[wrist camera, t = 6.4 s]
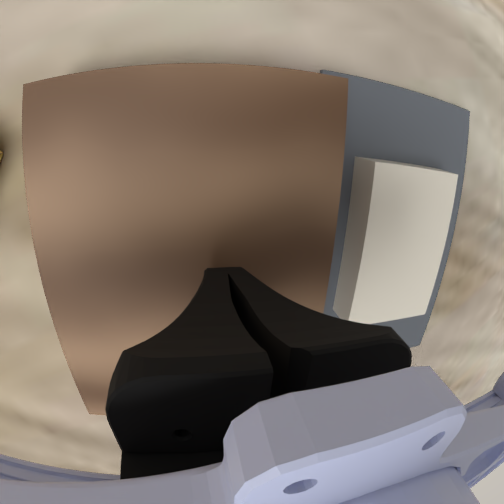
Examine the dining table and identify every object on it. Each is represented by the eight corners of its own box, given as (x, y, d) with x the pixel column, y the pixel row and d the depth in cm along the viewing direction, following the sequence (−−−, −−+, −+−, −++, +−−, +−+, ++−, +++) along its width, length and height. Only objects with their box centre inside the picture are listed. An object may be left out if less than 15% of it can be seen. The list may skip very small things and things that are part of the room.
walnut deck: (285, 357, 20) (304, 402, 16) (100, 367, 17) (89, 414, 14) (310, 87, 14) (348, 78, 10) (61, 92, 11) (23, 84, 8)
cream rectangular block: (346, 327, 17) (332, 308, 19) (424, 314, 18) (408, 299, 20) (375, 161, 13) (354, 156, 15) (458, 174, 14) (435, 168, 16)
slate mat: (417, 343, 22) (419, 345, 22) (291, 367, 20) (292, 370, 20) (466, 110, 16) (469, 111, 15) (319, 70, 13) (322, 69, 13)
